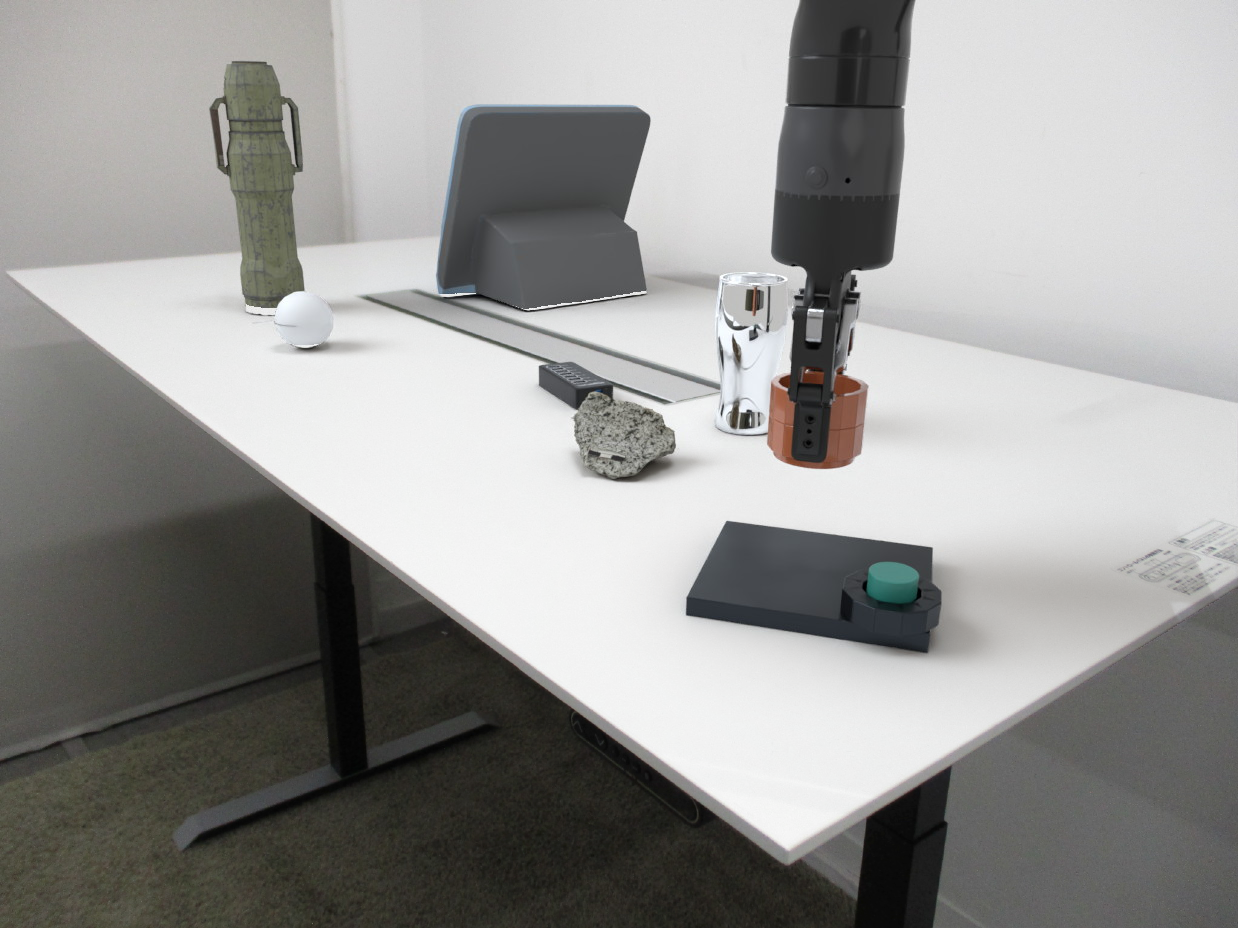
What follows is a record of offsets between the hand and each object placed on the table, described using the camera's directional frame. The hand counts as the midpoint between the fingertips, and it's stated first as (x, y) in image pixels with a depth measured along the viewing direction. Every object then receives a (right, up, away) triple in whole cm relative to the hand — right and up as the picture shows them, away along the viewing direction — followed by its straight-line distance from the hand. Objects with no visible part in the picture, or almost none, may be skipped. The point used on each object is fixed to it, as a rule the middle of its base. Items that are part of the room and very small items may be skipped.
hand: (814, 442), depth 67 cm
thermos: (-65, +22, +86) cm, 110 cm away
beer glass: (0, +2, +35) cm, 35 cm away
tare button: (+4, -9, -5) cm, 11 cm away
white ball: (-55, +13, +63) cm, 85 cm away
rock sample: (-12, -2, +24) cm, 27 cm away
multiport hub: (-18, +6, +45) cm, 49 cm away
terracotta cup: (0, -1, 0) cm, 1 cm away
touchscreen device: (-24, +27, +100) cm, 107 cm away
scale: (0, -10, +1) cm, 10 cm away
